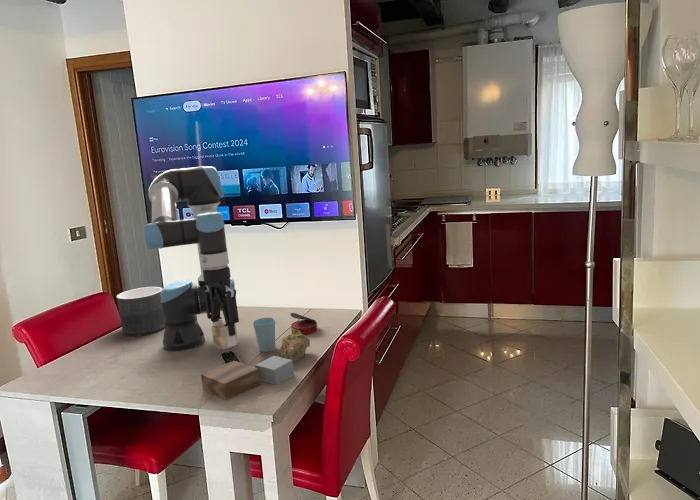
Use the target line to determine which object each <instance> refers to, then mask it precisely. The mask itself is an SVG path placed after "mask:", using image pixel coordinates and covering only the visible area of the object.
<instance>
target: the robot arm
mask: <svg viewBox="0 0 700 500" xmlns="http://www.w3.org/2000/svg"><path fill="white" fill-rule="evenodd" d="M218 173H219V172H218V170H217V169H216V167H215V166H205V165H204V166H203V165H202V166H196V167H194V166H193V167H187V168H186V167H183V168H173V169H169V170H166V171H164V172H163V173H160V174H159V175H158V176H156V177H155V178H154V179H153V181H152V182H151V184H150V186H149V187H148V199H149V201H150V202H151V222H150V223H146V224H144V225H143V236H144V241H145V246H146V248H148V249H150V250H153V249H163V248H170V247H172V248H173V247H178V246H186V245H195V244H196V245H197V252H198V253H197V254H198V260H199V267H200V275H199V276H198V277H197V283H196V282H195V283H193V281H192V280H191V279H186V280H185V279H184V280H179V281H175V282H172V283H170V284H168V285H165V286H164V287H163V288H162V290H161V303H162V307H163V314H164V321H165V328H164V331H163V337H162V338H163V339H162V346H163V349H164V350H166V351H172V352H175V351H176V352H178V351H180V352H181V351H187V350H190V349H193V348H196V347H199V346H200V345H202V344H203V343H205V341H206V338H205V332H204V331H203V329H202V327H201V325H200V323H199V321H198V316H197V315H203V314H206V318H207V319H208V320H209V319H210V321H211V322H212V326H215V325H218V324H221V323H223V320H222V319H223V318H224V322H226V324H225V325H224V327H225V334H226V341H227V347H229V348H232V347H233V346H236V345H237V344H236V337H235V326H234V324H236V323H237V324H238V323H239V322H240V319H239V310H238V304H237V290H236V288H235V287H236V286H235V284H236V283H235V279H234V278H233V277H231V268H230V266H229V264H230V260H229V252H228V247H227V241H226V240H227V239H226V238H227V237H226V232H225V231H226V230H225V221H224V217H223V214H222V212H220V211H218V206H219V205H220V204H221V198H224V192H223V186H222V183H221V180H220V179H221V178H220V176H219V174H218ZM180 202H181V203H182V202H186V203H187V204H186V205H187V207H188V208H190V209H191V210H192V216H193V218H186V219H178V211H177V203H180ZM221 312H222V314H223V317H222V316H221Z"/></svg>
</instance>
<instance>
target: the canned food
mask: <svg viewBox="0 0 700 500" xmlns="http://www.w3.org/2000/svg"><path fill="white" fill-rule="evenodd" d="M289 315H290V317H292V318H294V319H298V320H296V321H294V322H292V323H291V324H290V328H291V334H300V333H301V334H303V335H305V336H308V335H312V334H315V333H317V332H318V322H317V320H316V319H313V318H309V317H307V316H304V315H301V314H298V313H296V312H290V314H289Z"/></svg>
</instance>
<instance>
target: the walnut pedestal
mask: <svg viewBox="0 0 700 500" xmlns="http://www.w3.org/2000/svg"><path fill="white" fill-rule="evenodd" d="M200 377H201V385H202V390H203V391H205V392H207V393H209V394H211V395H214V396H216V397H219V398H221V399H223V400H225V401H228V400H230V399H232V398H235V397H237V396H239V395H241V394H244V393H246V392H247V391H250V390H251V389H252V390H253V388H256V387H258V386H260V385H261V381H260V378H259V370H258V368H256V367H255V366H251V365H249V364H246V363H242V362H239V361H237V360H232V361H230V362H227V363H225V364H222V365H220V366H217V367H216V368H213V369H211V370H208V371H206V372H203V373H201V374H200Z"/></svg>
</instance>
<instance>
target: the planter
mask: <svg viewBox="0 0 700 500" xmlns="http://www.w3.org/2000/svg"><path fill="white" fill-rule="evenodd" d="M162 289H163V288H162V287H159V286H145V287H139V288H134V289H130V290H129V289H128V290H126V291H123V292H121V293H119V294H117V295H116V300H117V302H116V303H117V307H118V312H119V318H120V324H121V329H122V335H125V336H129V337H139V336H138V335H141V336H147V335H150V334H155V333H158V332H160V331H163V330H165V321H164V314H163V307H162V303H161V290H162ZM154 332H155V333H154ZM146 334H147V335H146Z"/></svg>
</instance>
